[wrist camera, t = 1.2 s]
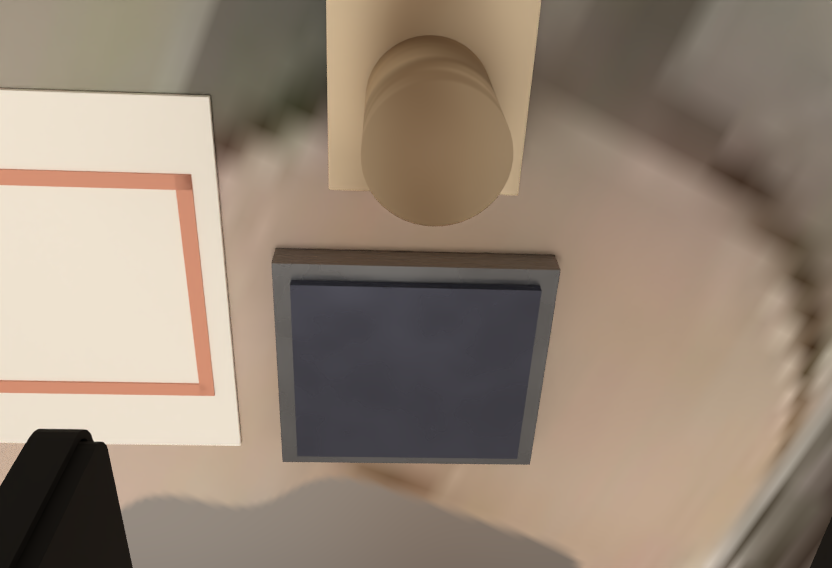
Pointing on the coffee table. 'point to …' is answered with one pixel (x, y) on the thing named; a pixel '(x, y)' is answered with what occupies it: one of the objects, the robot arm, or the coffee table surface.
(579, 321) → the coffee table surface
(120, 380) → the paper
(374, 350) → the ink pad
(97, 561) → the robot arm
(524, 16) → the stamp
